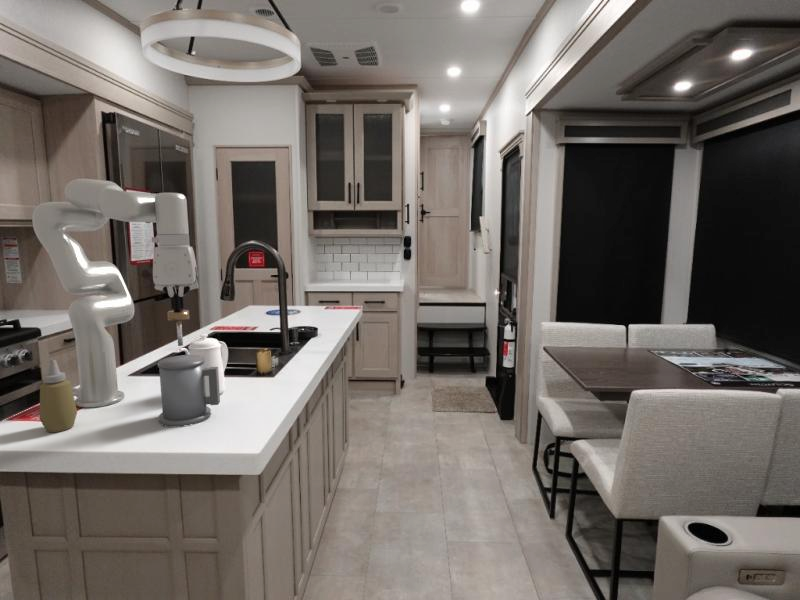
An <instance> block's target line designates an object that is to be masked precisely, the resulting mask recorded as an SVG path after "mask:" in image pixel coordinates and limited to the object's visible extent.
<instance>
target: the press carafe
mask: <svg viewBox="0 0 800 600" xmlns="http://www.w3.org/2000/svg"><path fill="white" fill-rule="evenodd" d="M204 362H205V358H204V357H203V356H199V355H186V354H183V355H175V356H169V357H165V358H161V359H160V360H159V361H158V362H157V367H158V368H159V380H160V381H159V382H160V395H161V409H162V411H161V413H160V414H159V415H158V422H159V424H160V425H161V424H163V425H162V426H164V425H166V426H165V427H169V426H180V427H185V426H184V425H188V426H191V425H190V424H193V425H196V424H195V423H197V424H199V422H200V423H202V422H205V421H206V420H208V419H209V418H210V417H211V416H210V415H212V410H211V408H210V407H209V406H207V405H210V406H218V405H219V404H220V402H221V397H220V395H221V394H220V393H219V376H218V367H210V368H204ZM205 376H209V389H210V396H206V390H205Z"/></svg>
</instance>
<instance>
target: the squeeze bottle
mask: <svg viewBox="0 0 800 600" xmlns="http://www.w3.org/2000/svg"><path fill="white" fill-rule="evenodd" d="M75 400H76V399H75V396H73V392H72V384H71V381H70V380H68V379H67V377H66V372H64V371H60V368H59V365H58V363H57V360H55V359H51V360H49V366H48V371H47V373H46V374H44V375H43V383H42V384H40V386H39V421H40V422H41V424H42V426H43V427H44V430H45V431H46V432H48V433H57V432H64V431H67V430H69V429H72V427H74V425H75V421H76V419H77V414H78V410H77V405H76V404H75Z"/></svg>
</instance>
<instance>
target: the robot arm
mask: <svg viewBox="0 0 800 600" xmlns="http://www.w3.org/2000/svg"><path fill="white" fill-rule="evenodd" d="M64 196H65V198H66V200H67V201H48V202H47V201H46V202H44V203H40V204H38V205H37V206H36V207H35V208H34V209H33V211H32V217H31V218H32V226H33V231H34V233H35V235H36V237H37V239H38V241H39V242H40V244H41V245H42V246H43V249H45V251H46V252H47V254H48V256H49V258H50V260H51V263H52V265H53V267H54V270H55V271H56V275H57V276H58V279H59V282H60V283H61V286H62V287H63V289H64V291H66V293H68V294H70V295H74V296H81V295H87V296H83V297H79V298H77V299H75V300H74V301H72V302H71V303H70V305H69V307H68V313H67V314H68V317H69V320H70V324H71V327H72V331H73V334H74V341H75V349H76V350H75V351H76V359H77V367H78V369H77V370H78V380H79V387H78V388H76V387H73V388H72V392H73V396H74V397H76V399H74V400H75V405H76V407H79V408H100V407H104V406H108V405H109V406H110V405H112V404H116V403H118V402H121V401H122V400H124V398H125V393H124V392H123V391H121V390H119V387H118V376H117V366H116V365H117V364H116V352H115V342H114V339H113V337H112V335H111V334H110V333H109V332H108V331H107V329H106V327H109V326H114V325H119V324H124V323H128V322H129V321H131V320H132V319H133V317H134V315H135V303H134V300H133V298H132V296H131V294H130V293H131V292H129V289H128V287H127V284H126V283H125V279H124V278H123V275H122V274H121V271H120V270H119V268H118V267H117V266H116V265H115V264H113V263H112V262H109V261H106V260H98V261H97V260H96V261H91V260H89V258H88V257H87V255H86V253H85V251H84V248H83V247H82V246H81V244H80V243H79V242H78V241H77V240H76V239H74V238H73V237H71V235H69V234H68V233H67V232H93V231H94V232H96V231H97V230H100V229H101V228H102V227H104V225H105V224H107V222H108V221H109V220H110V219H111V220H116V221H122V222H126V223H127V222H128V223H156V224H155V225H156V233H157V234H156V236H153V237H151V243H155V244H156V245H157V246H156V247H154V248H153V257H152V258H153V259H152V280H153V284H154V289H155V290H157V291H162V292H165V293H166V294H167V295H168V296H169V297H170V304H171V305H170V306H171V309H173V310H174V312H182V311H183V310H185V308H186V301H185V300H186V299H185V298H186V297H185V296H186V295H187V294H188V292H190V291H192V290H195V289H196V290H197V289H199V287H200V286H199V282H198V281H199V280H198V278H199V276H198V275H199V274H198V273H199V272H198V267H197V260H196V256H195V251H194V248H193V246H190V245H191V244H190V243H191V242H190V234H189V217H188V215H189V214H188V201H187V197H186V196H185V195H184V194H183V193H179V192H159V193H153V192H152V193H149V192H139V191H134V192H133V191H125V190H124V189H123V188H122V187H121V186H119V185H118V184H117V183H116V182H114V181H110V180H105V179H103V180H102V179H92V178H91V179H90V178H77V179H76V178H75V179H73V180H71V181H70V182H68V183H67V184H66V186H65V188H64ZM177 286H179V287H178V293H177V290H176V289H177V288H176V287H177ZM98 293H101V294H98ZM88 294H89V295H88ZM90 294H95V295H90Z"/></svg>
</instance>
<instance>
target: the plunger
mask: <svg viewBox="0 0 800 600" xmlns="http://www.w3.org/2000/svg"><path fill="white" fill-rule="evenodd" d="M189 320H190V310H189V309H184V310H183V311H182V312H174V309H173V310H168V311H167V321H168V322H176V334H177V335H176V336H177V346H178V347H181V346H182V347H183V346H184V339H183V325H182V323H183V322H184V321H189Z"/></svg>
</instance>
